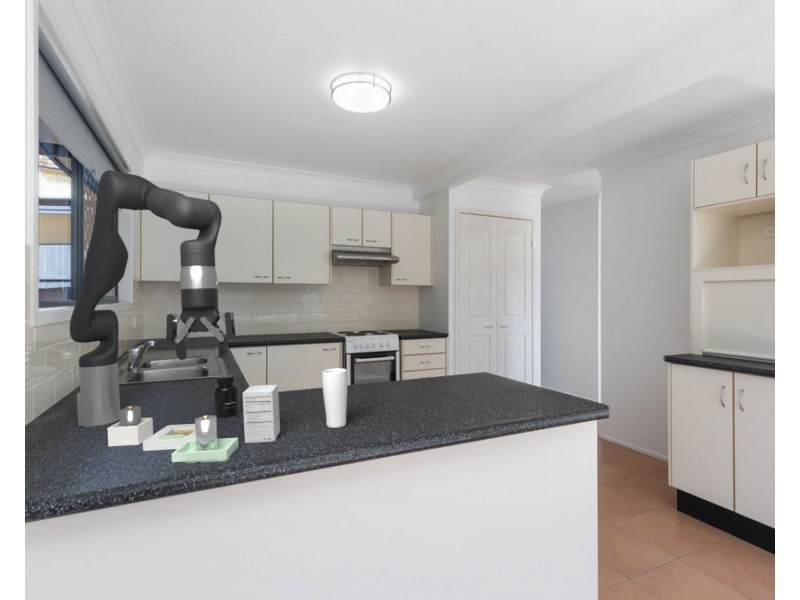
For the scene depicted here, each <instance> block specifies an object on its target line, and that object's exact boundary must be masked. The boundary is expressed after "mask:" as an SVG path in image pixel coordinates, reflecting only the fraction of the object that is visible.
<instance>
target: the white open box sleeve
mask: <svg viewBox="0 0 800 600" xmlns="http://www.w3.org/2000/svg"><path fill="white" fill-rule="evenodd" d="M153 418H154V417H141V423H140V424H138V425H137V426H121V427H120V421H118V422H117V423H114V424H112V425H110V426H109V427H107V441H108V442H107V444H108V445H107V446H108V447H119V446H120V447H121V446H123V447H124V446H125V447H126V446H137V445H138V446H139V445H141V444H143V441H145V440H146V439H148V438H149V437H151V436H152V435H154V422H153Z"/></svg>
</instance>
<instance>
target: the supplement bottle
mask: <svg viewBox="0 0 800 600" xmlns="http://www.w3.org/2000/svg"><path fill="white" fill-rule="evenodd" d="M235 381H236V380H235V375H233V374H226V375H225V374H224V375H219V376H217V377H216V384H217V385H216V386H215V387H214V388H213V415H214V416H216V419H225V418H226V419H227V418H231V417H234V418H235V417H237V416H238V415H239V413H240V412H239V407H240V406H239V386H238V385H237V384H236V383H235Z"/></svg>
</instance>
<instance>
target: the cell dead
mask: <svg viewBox="0 0 800 600" xmlns="http://www.w3.org/2000/svg"><path fill="white" fill-rule="evenodd" d="M141 409H142V408H141V406H139V405H137V406H135V405H128V406H126V407H123V408H120V419H119V422H120V427H121V426H137V425H138V424H140V423H141V418H142V413H141Z"/></svg>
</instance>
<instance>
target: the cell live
mask: <svg viewBox="0 0 800 600" xmlns="http://www.w3.org/2000/svg"><path fill="white" fill-rule="evenodd" d="M217 419H218V418H216V416H214V414H213V415H212V414H211V415H209V414H204V415H202V416H198V417H196V418H195V419H194V424H195V432H196V451H210V450H218V442H217V439H218V425H217V424H218V423H217V421H218V420H217Z"/></svg>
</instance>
